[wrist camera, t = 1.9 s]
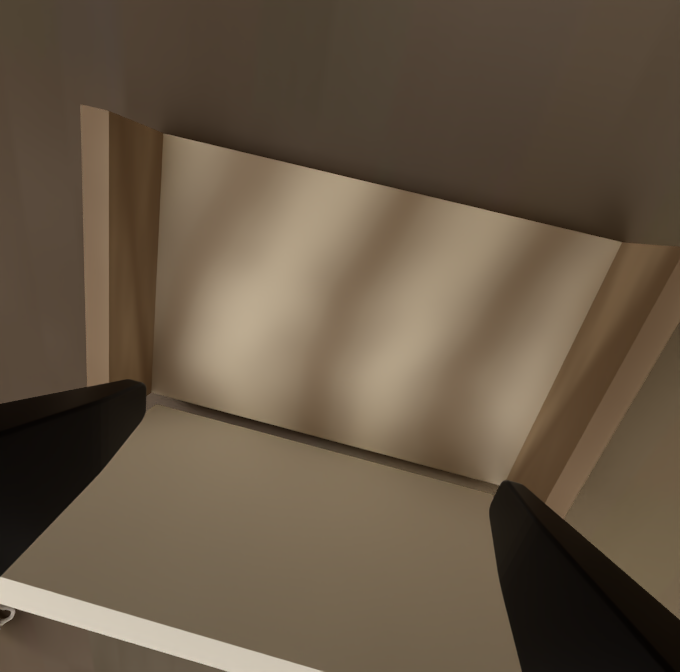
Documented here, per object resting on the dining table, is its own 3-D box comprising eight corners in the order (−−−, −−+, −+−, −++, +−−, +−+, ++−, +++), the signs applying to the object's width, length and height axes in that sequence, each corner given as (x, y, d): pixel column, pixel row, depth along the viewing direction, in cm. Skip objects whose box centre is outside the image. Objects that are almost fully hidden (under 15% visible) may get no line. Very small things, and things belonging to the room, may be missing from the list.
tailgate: (492, 494, 17) (597, 751, 9) (480, 519, 18) (568, 783, 9) (156, 403, 18) (-44, 564, 10) (154, 430, 19) (-36, 604, 10)
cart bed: (627, 246, 15) (718, 255, 11) (513, 475, 19) (549, 543, 15) (158, 134, 15) (80, 104, 11) (147, 378, 19) (88, 417, 15)
